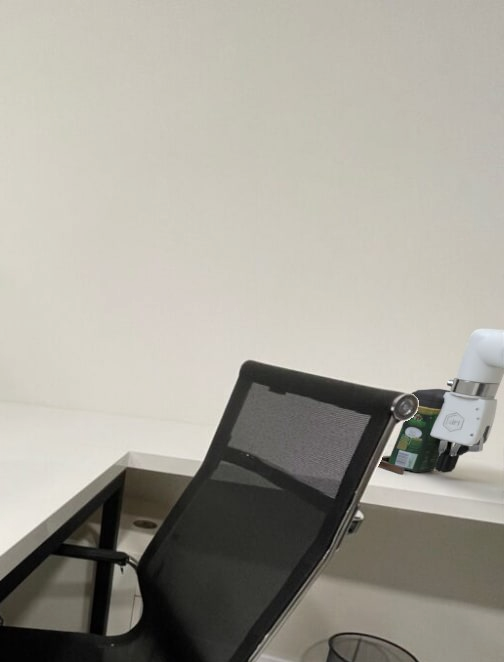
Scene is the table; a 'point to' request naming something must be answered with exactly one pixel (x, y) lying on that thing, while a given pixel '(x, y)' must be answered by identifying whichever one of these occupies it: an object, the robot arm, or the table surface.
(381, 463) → the walnut bay
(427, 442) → the coffee jar
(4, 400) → the table surface
